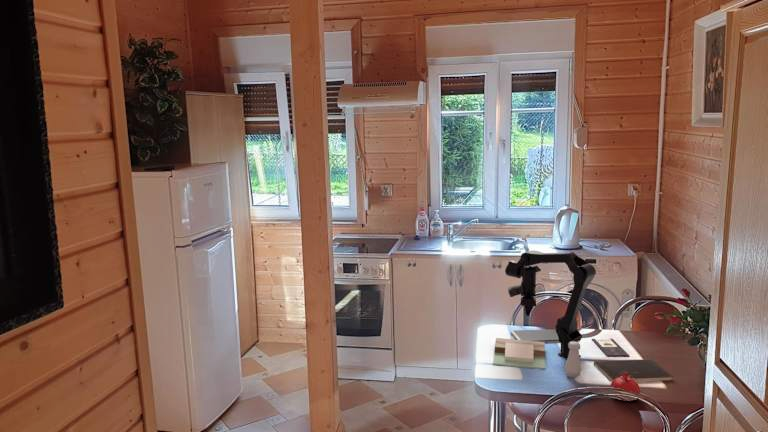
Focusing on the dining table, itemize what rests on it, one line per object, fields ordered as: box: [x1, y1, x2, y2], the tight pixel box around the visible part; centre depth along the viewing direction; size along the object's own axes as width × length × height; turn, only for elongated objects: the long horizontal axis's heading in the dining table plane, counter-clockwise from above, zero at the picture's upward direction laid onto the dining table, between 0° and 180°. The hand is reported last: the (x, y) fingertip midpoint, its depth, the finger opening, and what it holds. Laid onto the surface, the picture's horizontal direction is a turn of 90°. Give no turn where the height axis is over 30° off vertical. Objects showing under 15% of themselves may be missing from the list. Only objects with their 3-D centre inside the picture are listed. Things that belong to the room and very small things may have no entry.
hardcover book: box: [593, 358, 673, 383], centre depth 225 cm, size 16×23×2 cm
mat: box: [492, 352, 546, 370], centre depth 236 cm, size 12×20×1 cm, turn 77°
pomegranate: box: [609, 372, 642, 394], centre depth 204 cm, size 10×10×9 cm
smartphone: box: [510, 328, 560, 343], centre depth 261 cm, size 13×27×2 cm, turn 95°
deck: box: [494, 337, 546, 358], centre depth 245 cm, size 10×20×3 cm, turn 77°
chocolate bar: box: [591, 338, 630, 358], centre depth 249 cm, size 9×1×18 cm
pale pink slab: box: [505, 343, 533, 362], centre depth 237 cm, size 11×8×2 cm
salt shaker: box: [564, 341, 582, 379], centre depth 222 cm, size 6×6×13 cm
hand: (527, 315), depth 253 cm, fingers closed
